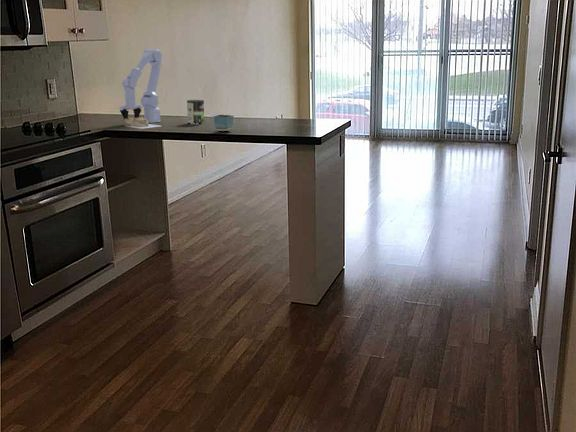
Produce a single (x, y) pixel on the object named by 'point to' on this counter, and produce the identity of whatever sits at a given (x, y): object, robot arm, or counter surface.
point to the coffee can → (195, 111)
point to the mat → (145, 126)
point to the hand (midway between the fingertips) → (131, 121)
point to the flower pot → (223, 121)
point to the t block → (136, 121)
